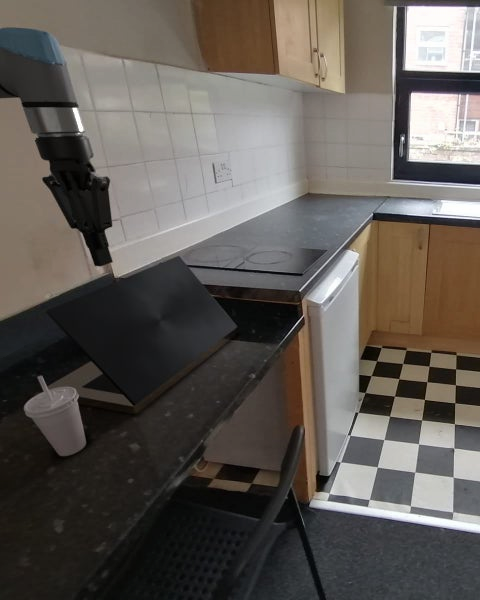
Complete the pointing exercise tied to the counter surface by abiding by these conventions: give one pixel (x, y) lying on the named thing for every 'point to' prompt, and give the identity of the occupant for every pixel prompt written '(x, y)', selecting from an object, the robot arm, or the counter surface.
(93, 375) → the laptop
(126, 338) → the laptop screen
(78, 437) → the smoothie
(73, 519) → the counter surface
